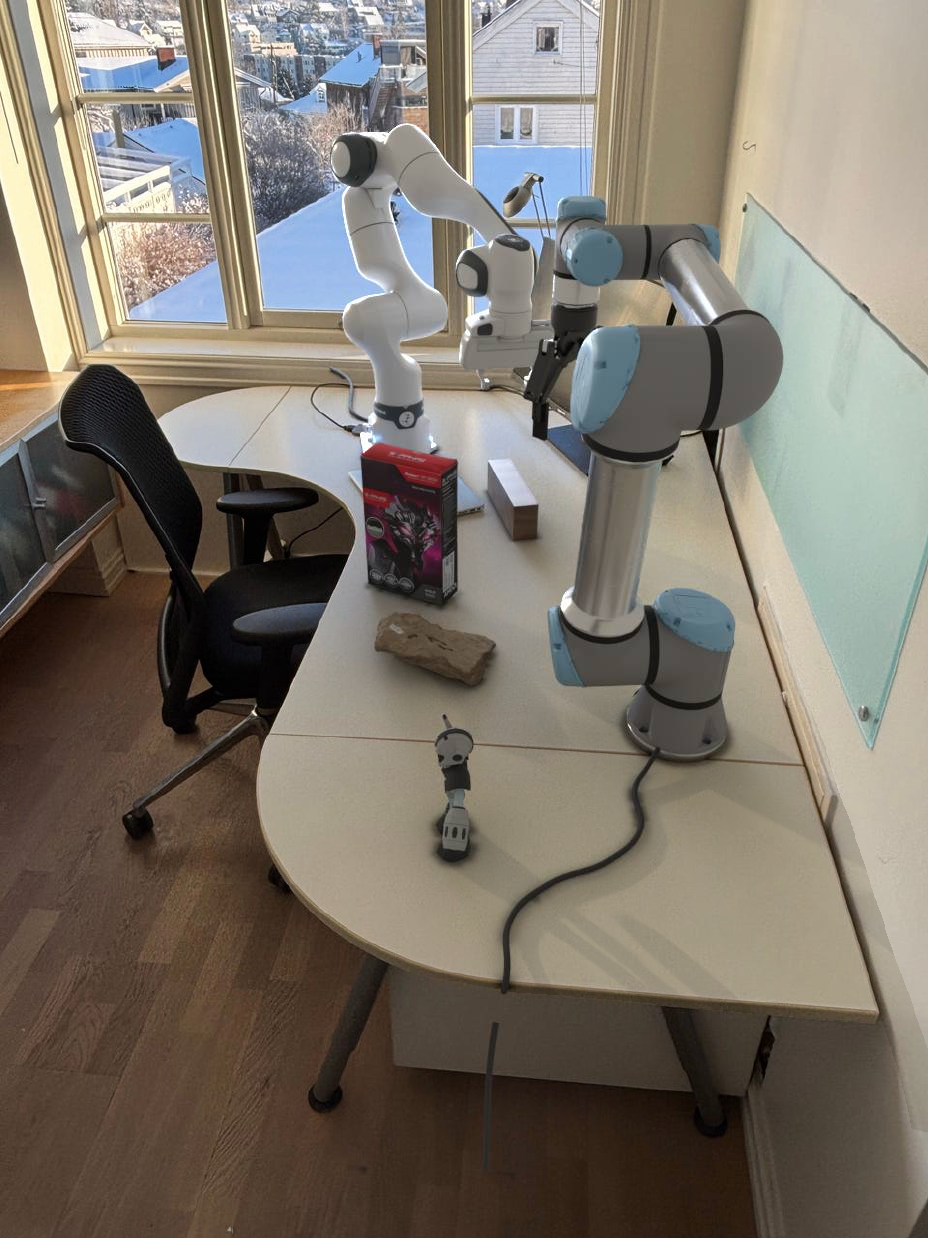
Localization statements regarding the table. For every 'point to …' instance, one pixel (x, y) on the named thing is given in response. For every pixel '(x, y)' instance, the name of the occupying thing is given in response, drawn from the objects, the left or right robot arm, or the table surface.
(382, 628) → the stone
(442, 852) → the robot
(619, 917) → the table surface
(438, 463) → the graphics card box
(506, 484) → the bar
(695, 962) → the table surface
